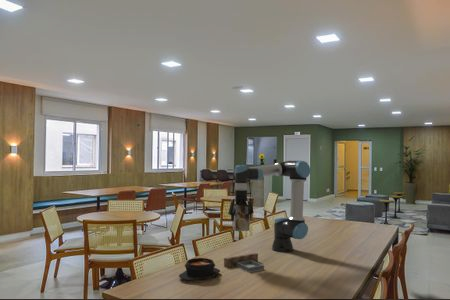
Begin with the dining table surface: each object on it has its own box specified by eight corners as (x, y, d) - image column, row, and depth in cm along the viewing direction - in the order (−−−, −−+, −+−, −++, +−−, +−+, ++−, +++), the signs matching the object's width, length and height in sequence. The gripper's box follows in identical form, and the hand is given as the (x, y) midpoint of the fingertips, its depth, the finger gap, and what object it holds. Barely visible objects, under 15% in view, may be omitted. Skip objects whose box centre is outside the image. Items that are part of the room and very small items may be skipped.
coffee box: (246, 228, 222) (246, 203, 222) (249, 230, 216) (249, 204, 216) (232, 229, 220) (232, 203, 220) (235, 231, 213) (235, 205, 214)
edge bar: (256, 260, 224) (256, 253, 224) (257, 261, 222) (257, 253, 222) (224, 266, 211) (224, 258, 212) (225, 267, 210) (225, 259, 210)
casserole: (205, 268, 208) (205, 254, 209) (227, 275, 195) (227, 260, 196) (171, 278, 191) (171, 262, 191) (193, 286, 177) (193, 270, 178)
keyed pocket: (250, 263, 218) (250, 259, 218) (263, 269, 206) (263, 265, 206) (235, 266, 212) (235, 262, 212) (248, 272, 200) (248, 268, 201)
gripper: (252, 188, 227) (252, 223, 226) (222, 189, 216) (222, 225, 215) (259, 189, 221) (259, 224, 220) (228, 190, 210) (228, 228, 209)
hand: (241, 225), depth 218 cm, fingers closed on coffee box, 10 cm apart
